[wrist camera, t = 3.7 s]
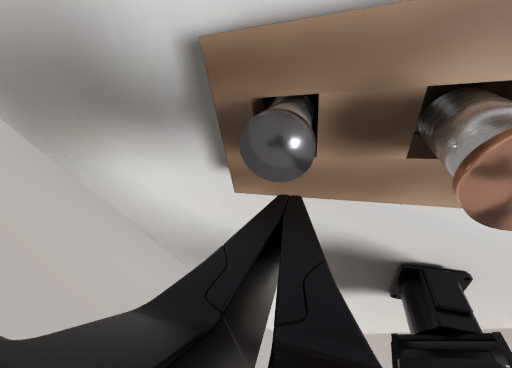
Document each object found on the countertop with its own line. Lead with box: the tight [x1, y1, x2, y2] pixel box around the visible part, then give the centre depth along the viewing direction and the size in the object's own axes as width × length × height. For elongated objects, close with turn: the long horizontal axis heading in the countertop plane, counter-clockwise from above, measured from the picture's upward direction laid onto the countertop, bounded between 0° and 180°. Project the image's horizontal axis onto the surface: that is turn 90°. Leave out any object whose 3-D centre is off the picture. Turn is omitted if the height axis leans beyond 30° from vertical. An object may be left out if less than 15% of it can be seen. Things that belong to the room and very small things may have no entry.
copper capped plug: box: [418, 87, 512, 231], centre depth 10 cm, size 4×4×7 cm
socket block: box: [199, 0, 512, 208], centre depth 15 cm, size 12×20×4 cm, turn 98°
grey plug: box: [239, 94, 316, 182], centre depth 15 cm, size 4×4×7 cm
